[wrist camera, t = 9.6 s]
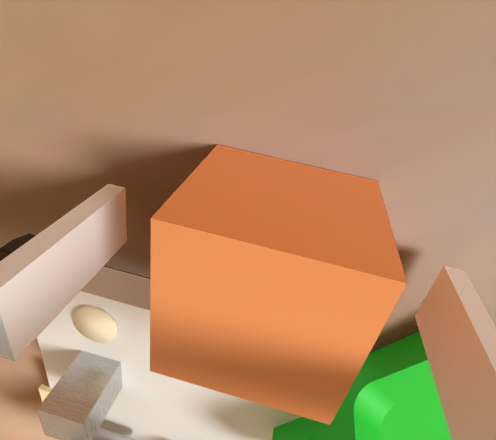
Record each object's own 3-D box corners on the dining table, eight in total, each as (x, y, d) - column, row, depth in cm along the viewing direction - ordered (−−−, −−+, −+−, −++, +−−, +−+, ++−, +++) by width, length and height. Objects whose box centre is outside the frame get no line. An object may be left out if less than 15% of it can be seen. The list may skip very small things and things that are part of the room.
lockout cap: (217, 144, 14) (150, 218, 9) (377, 181, 13) (407, 283, 8) (203, 266, 17) (149, 371, 12) (330, 300, 16) (330, 424, 11)
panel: (38, 248, 19) (4, 274, 17) (336, 329, 17) (336, 368, 15) (74, 419, 28) (56, 449, 26) (269, 482, 27) (264, 518, 25)
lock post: (81, 350, 19) (36, 409, 16) (120, 362, 19) (82, 424, 16) (85, 375, 21) (44, 434, 18) (122, 386, 20) (87, 448, 18)
